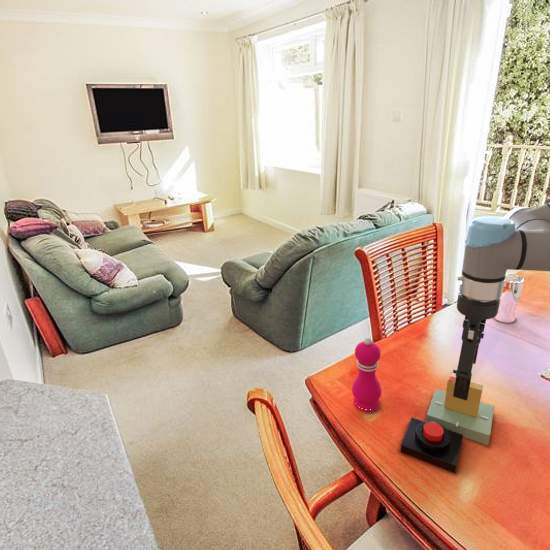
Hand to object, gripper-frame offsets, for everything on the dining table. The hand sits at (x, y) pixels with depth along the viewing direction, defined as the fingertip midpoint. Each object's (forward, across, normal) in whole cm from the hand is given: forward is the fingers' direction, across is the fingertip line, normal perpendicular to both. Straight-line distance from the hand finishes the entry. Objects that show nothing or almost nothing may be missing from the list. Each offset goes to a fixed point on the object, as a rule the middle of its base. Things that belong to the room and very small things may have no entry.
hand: (464, 378), depth 84 cm
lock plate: (+12, 0, 0) cm, 12 cm away
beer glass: (+12, -54, +6) cm, 56 cm away
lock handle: (+9, 0, 0) cm, 9 cm away
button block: (+12, +11, -4) cm, 17 cm away
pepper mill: (+13, +5, -21) cm, 25 cm away
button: (+9, +11, -4) cm, 14 cm away
